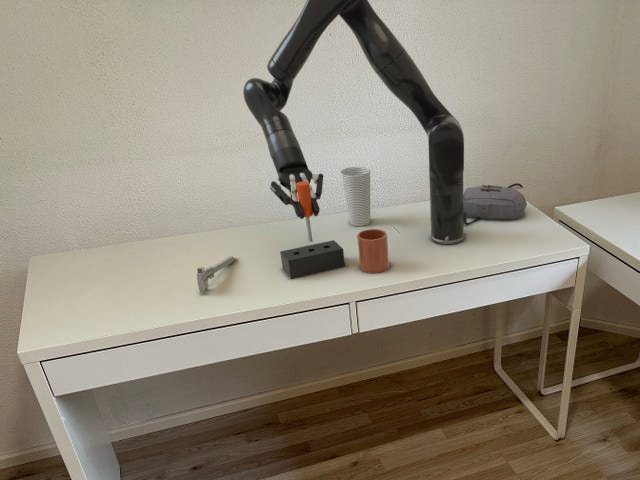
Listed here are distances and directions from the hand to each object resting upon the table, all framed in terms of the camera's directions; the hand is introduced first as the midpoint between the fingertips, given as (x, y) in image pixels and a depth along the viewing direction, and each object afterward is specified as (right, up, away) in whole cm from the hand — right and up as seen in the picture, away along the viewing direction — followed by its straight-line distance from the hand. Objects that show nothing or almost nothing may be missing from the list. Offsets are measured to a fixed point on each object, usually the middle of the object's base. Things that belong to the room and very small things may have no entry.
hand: (309, 215), depth 166 cm
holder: (-1, -12, +9) cm, 15 cm away
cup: (+6, +6, +36) cm, 37 cm away
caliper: (-24, -14, +5) cm, 29 cm away
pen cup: (+14, -11, +10) cm, 21 cm away
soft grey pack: (+46, +10, +44) cm, 65 cm away
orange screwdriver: (-1, -5, +6) cm, 8 cm away
